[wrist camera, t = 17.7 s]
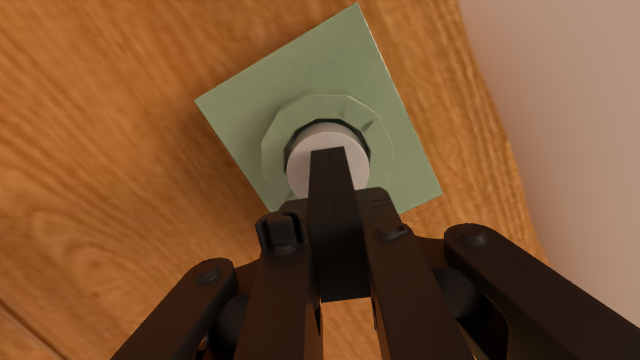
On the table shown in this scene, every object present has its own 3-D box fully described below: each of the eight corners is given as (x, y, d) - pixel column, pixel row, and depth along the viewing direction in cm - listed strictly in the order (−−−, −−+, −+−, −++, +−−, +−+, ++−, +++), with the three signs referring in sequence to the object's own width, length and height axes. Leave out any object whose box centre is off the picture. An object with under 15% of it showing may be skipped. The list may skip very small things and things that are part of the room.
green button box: (424, 171, 24) (456, 209, 19) (304, 229, 26) (301, 280, 21) (349, 8, 20) (362, -4, 15) (213, 90, 22) (179, 107, 17)
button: (376, 172, 18) (383, 187, 17) (312, 204, 19) (312, 222, 17) (342, 108, 17) (346, 116, 15) (275, 144, 18) (270, 157, 16)
